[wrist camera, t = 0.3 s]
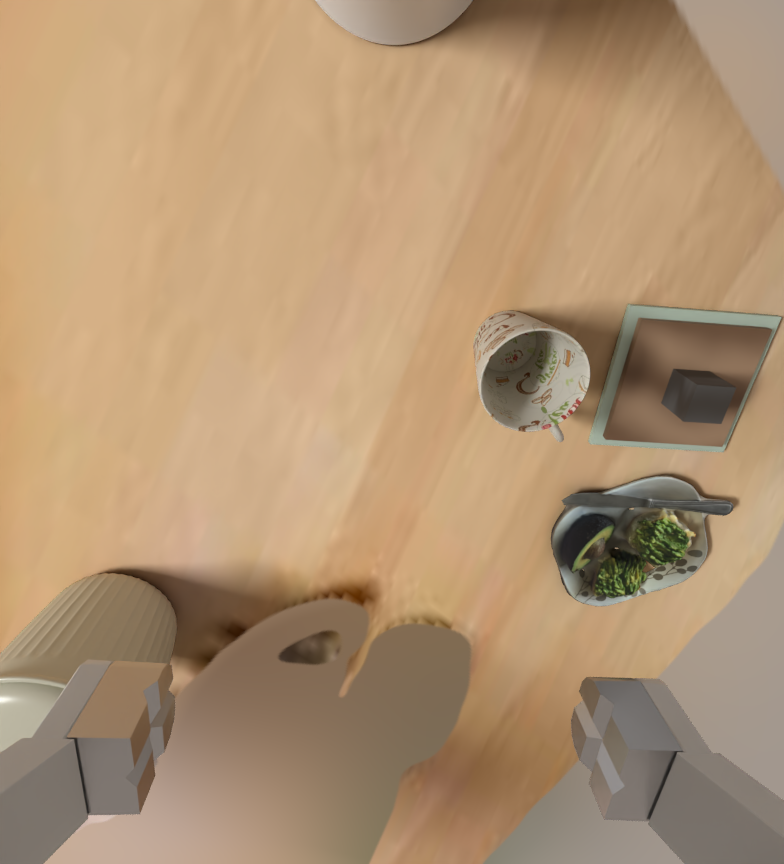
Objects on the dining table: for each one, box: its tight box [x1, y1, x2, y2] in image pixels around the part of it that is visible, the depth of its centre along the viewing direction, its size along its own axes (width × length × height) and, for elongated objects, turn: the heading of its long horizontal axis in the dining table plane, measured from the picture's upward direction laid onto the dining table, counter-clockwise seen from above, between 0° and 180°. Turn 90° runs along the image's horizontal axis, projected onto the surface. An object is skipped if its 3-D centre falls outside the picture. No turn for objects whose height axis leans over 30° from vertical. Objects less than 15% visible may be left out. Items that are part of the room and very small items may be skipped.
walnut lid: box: [603, 318, 772, 447], centre depth 47 cm, size 12×12×5 cm
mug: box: [473, 311, 590, 442], centre depth 44 cm, size 8×13×10 cm, turn 34°
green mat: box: [588, 304, 782, 452], centre depth 49 cm, size 14×14×1 cm
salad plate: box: [551, 475, 733, 606], centre depth 56 cm, size 19×18×5 cm
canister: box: [0, 573, 177, 753], centre depth 52 cm, size 18×18×21 cm
